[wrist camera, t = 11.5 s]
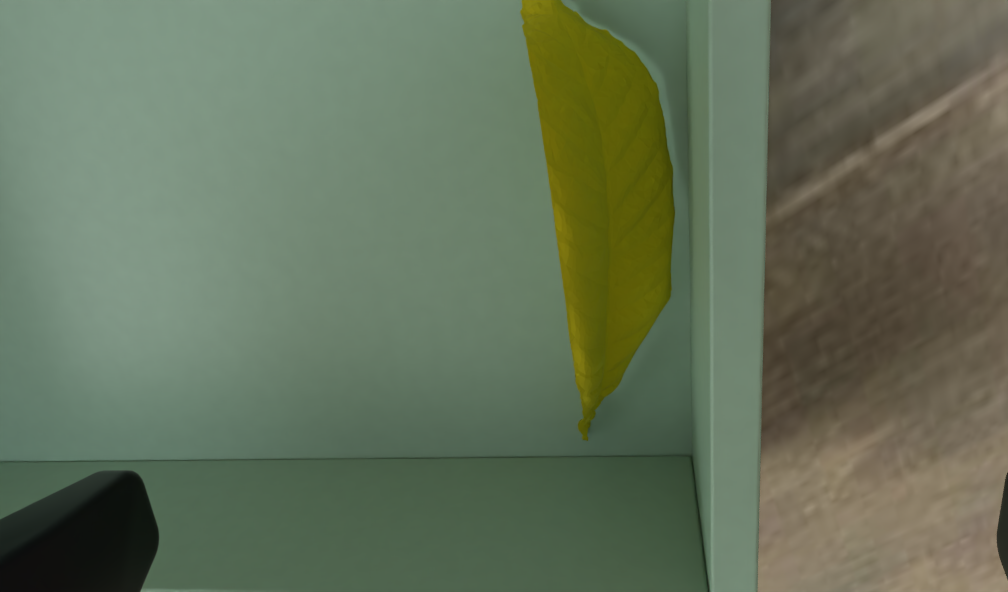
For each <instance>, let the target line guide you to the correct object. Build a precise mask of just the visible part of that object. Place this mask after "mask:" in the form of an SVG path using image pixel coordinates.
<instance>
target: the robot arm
mask: <svg viewBox="0 0 1008 592" xmlns="http://www.w3.org/2000/svg"><path fill="white" fill-rule="evenodd" d="M158 545H159V529H158V525H157V522H156V519H155V516H154V513H153V510H152V506H151V503H150V500H149V497H148V494H147V491H146V488H145V484H144V482H143V479H142V478H141V477H140V475H139V474H138V473H136V472H134V471H132V470H103V471H98V472H96V473H93V474H91V475H89V476H87V477H85V478H83V479H81V480H79V481H77V482H75V483H73V484H71V485H69V486H67V487H65V488H63V489H61V490H59V491H57V492H55V493H53V494H51V495H49V496H46V497H44V498H42V499H40V500H38V501H36V502H34V503H32V504H30V505H28V506H26V507H24V508H22V509H20V510H18V511H16V512H14V513H12V514H10V515H8V516H6V517H4V518H2V519H0V592H140V591H141V589H142V587H143V584H144V582H145V580H146V577H147V575H148V572H149V570H150V568H151V565H152V563H153V561H154V558H155V556H156V553H157V550H158ZM997 547H998V553H999V557H1000V560H1001V563H1002V566H1003V568H1004V571H1005V574H1006V576H1007V579H1008V473H1007V475H1006V479H1005V485H1004V491H1003V498H1002V504H1001V510H1000V516H999V523H998V529H997Z"/></svg>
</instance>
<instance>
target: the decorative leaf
mask: <svg viewBox="0 0 1008 592" xmlns="http://www.w3.org/2000/svg"><path fill="white" fill-rule="evenodd" d="M520 13H521V16H522V19H523V21H524V24H523V25H522V28H523V32H524V36H525V37H526V46H527V49H528V56H529V62H530V67H531V71H532V77H533V84H534V88H535V93H536V97H537V100H538V101H537V104H538V112H539V118H540V125H541V131H542V139H543V145H544V152H545V158H546V163H547V164H546V165H547V172H548V178H549V185H550V186H549V187H550V190H551V200H552V208H553V215H554V222H555V231H556V237H557V246H558V251H559V253H558V254H559V260H560V267H561V274H562V280H563V288H564V295H565V304H566V311H567V323H568V331H569V339H570V344H571V345H570V347H571V350H572V356H573V362H574V364H573V366H574V370H575V378H576V379H575V382H576V385H577V388H578V390H579V392H580V399H581V405H582V409H583V410H582V414H583V417H584V418H583V419H581V420H580V421H579V422H578V430H579V431H580V432H581V434H582V440H586V441H588V436H587V434H588V428H589V427H590V425H591V420H593V419H594V417H595V415H596V412H595V410H596V409H597V408H598V407H599V405H600V404H601V401H603V399H604V397H606V396H608V395H610V394H611V393H612V392H613V391H614V390H615V389H616V388H617V387H618V386H619V384H620V382H621V380H622V378H623V374H624V373H625V371H626V369H627V367H628V365H629V364H630V362H631V360H632V358H633V356H634V354H635V352H636V351H637V349H638V348H639V346H640V345H641V343H642V342H643V340H644V339H645V337H646V336H647V334H648V333H649V331H650V329H651V328H652V326H653V324H654V323H655V321H656V319H657V318H658V316H659V314H660V313H661V311H662V310H663V308H664V307H665V305H666V304H667V302H668V301H669V299H670V297H671V291H672V286H671V258H672V242H673V228H674V218H675V207H674V198H673V166H672V163H671V160H670V155H669V151H668V146H667V138H666V127H665V119H664V116H663V110H662V108H661V104H660V100H659V90H658V86H657V83H656V82H654V80H653V79H652V77H651V75H650V73H649V71H648V69H647V68H646V66H645V65H644V64H643V63H642V62H641V60H640V58H639V57H638V55H637V54H636V53H635V52H634V51H633V50H631V49H629V48H628V47H627V46H625V45H624V43H623V42H622V41H620V40H618V39H616V38H615V37H613V36H612V35H611V34H610V33H609V31H608V30H606V29H598V28H596V27H594V26H591V25H590V24H588V23H586V22H585V21H584V19H583V18H582V17H581V16H580V15H579V14H578V13H577V12H576V11H574V12H573V10H571V9H570V8H568V7H567V6H565V5H564V4H563V3H562V1H561V0H522V9H521V10H520Z"/></svg>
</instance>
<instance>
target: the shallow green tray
mask: <svg viewBox="0 0 1008 592" xmlns="http://www.w3.org/2000/svg"><path fill="white" fill-rule="evenodd" d="M561 1H562V3H563V4H564V5H565V6H567V7H568V8H570V9H571V10H573V12H574V11H576V12H577V13H578V14H579V15H580V16H581V17H582V18H583V19H584V21H585V22H586V23H588V24H590V25H591V26H594V27H596V28H598V29H606V30H608V31H609V33H610V34H611V35H612V36H613V37H615V38H616V39H618V40H620V41H622V42H623V43H624V45H625V46H627V47H628V48H629V49H631V50H633V51H634V52H635V53H636V54H637V55H638V57H639V58H640V60H641V62H642V63H643V64H644V65H645V66H646V68H647V69H648V71H649V73H650V75H651V77H652V79H653V80H654V82H656V83H657V86H658V90H659V100H660V104H661V108H662V110H663V116H664V119H665V127H666V138H667V146H668V151H669V155H670V160H671V163H672V166H673V198H674V207H675V218H674V228H673V242H672V258H671V286H672V291H671V297H670V299H669V301H668V302H667V304H666V305H665V307H664V308H663V310H662V311H661V313H660V314H659V316H658V318H657V319H656V321H655V323H654V324H653V326H652V328H651V329H650V331H649V333H648V334H647V336H646V337H645V339H644V340H643V342H642V343H641V345H640V346H639V348H638V349H637V351H636V352H635V354H634V356H633V358H632V360H631V362H630V364H629V365H628V367H627V369H626V371H625V373H624V374H623V378H622V380H621V382H620V384H619V386H618V387H617V388H616V389H615V390H614V391H613V392H612V393H611V394H610V395H608V396H606V397H604V399H603V401H601V404H600V405H599V407H598V408H597V409H596V410H595V412H596V415H595V417H594V419H593V420H591V425H590V427H589V428H588V434H587V436H588V441H586V440H582V434H581V432H580V431H579V430H578V422H579V421H580V420H581V419H583V418H584V417H583V414H582V410H583V409H582V405H581V399H580V392H579V390H578V388H577V385H576V382H575V379H576V378H575V370H574V366H573V364H574V362H573V356H572V350H571V347H570V345H571V344H570V339H569V331H568V323H567V311H566V304H565V295H564V288H563V280H562V274H561V267H560V260H559V254H558V253H559V251H558V246H557V237H556V231H555V222H554V215H553V208H552V200H551V190H550V187H549V186H550V185H549V178H548V172H547V165H546V164H547V163H546V158H545V152H544V145H543V139H542V131H541V125H540V118H539V112H538V104H537V101H538V100H537V97H536V93H535V88H534V84H533V77H532V71H531V67H530V62H529V56H528V49H527V46H526V37H525V36H524V32H523V28H522V25H523V24H524V21H523V19H522V16H521V13H520V10H521V9H522V0H0V519H2V518H4V517H6V516H8V515H10V514H12V513H14V512H16V511H18V510H20V509H22V508H24V507H26V506H28V505H30V504H32V503H34V502H36V501H38V500H40V499H42V498H44V497H46V496H49V495H51V494H53V493H55V492H57V491H59V490H61V489H63V488H65V487H67V486H69V485H71V484H73V483H75V482H77V481H79V480H81V479H83V478H85V477H87V476H89V475H91V474H93V473H96V472H98V471H103V470H132V471H134V472H136V473H138V474H139V475H140V477H141V478H142V479H143V482H144V484H145V488H146V491H147V494H148V497H149V500H150V503H151V506H152V510H153V513H154V516H155V519H156V522H157V525H158V529H159V545H158V550H157V553H156V556H155V558H154V561H153V563H152V565H151V568H150V570H149V572H148V575H147V577H146V580H145V582H144V584H143V587H142V589H141V591H140V592H757V589H758V545H759V502H760V458H761V414H762V371H763V327H764V283H765V240H766V196H767V152H768V109H769V65H770V21H771V0H561Z"/></svg>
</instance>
